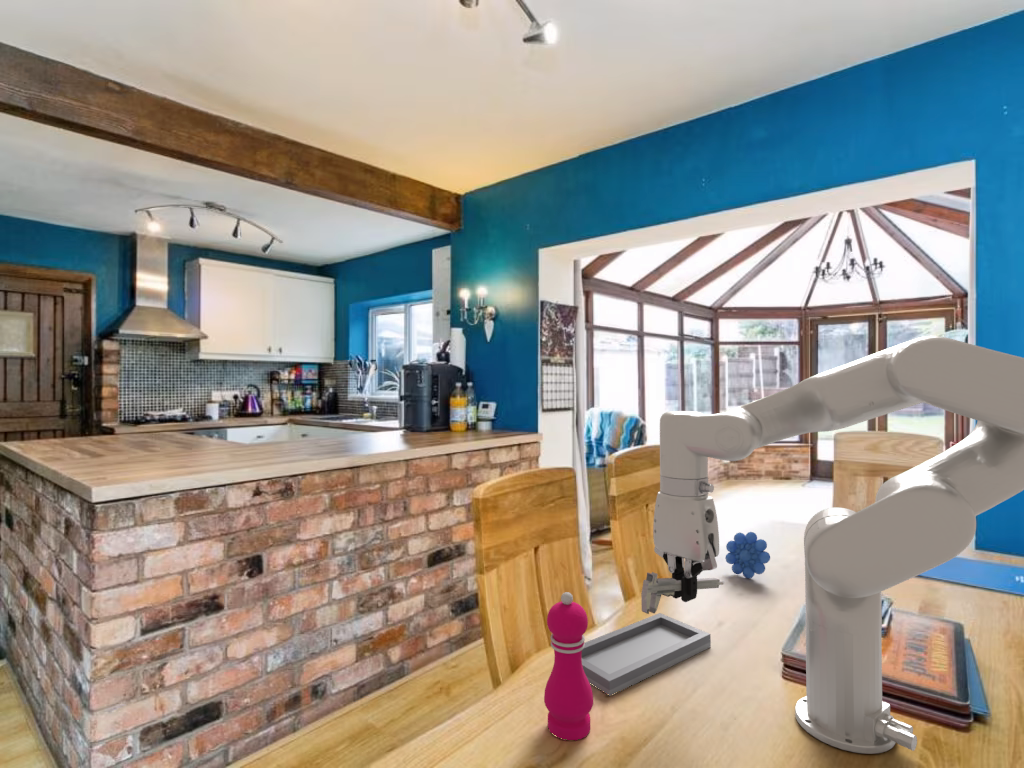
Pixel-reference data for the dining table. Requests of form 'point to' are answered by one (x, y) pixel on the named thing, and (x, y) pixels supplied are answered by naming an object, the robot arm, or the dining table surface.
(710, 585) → the caliper
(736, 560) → the blue bumpy cluster
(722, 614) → the dining table surface
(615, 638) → the tool case
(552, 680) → the pepper mill
